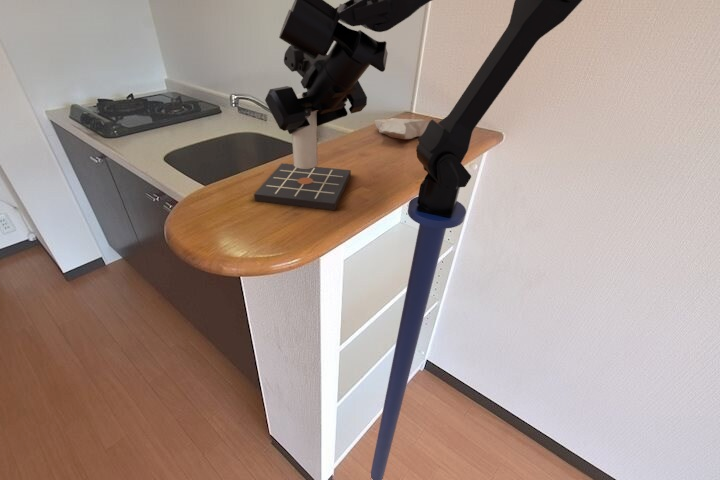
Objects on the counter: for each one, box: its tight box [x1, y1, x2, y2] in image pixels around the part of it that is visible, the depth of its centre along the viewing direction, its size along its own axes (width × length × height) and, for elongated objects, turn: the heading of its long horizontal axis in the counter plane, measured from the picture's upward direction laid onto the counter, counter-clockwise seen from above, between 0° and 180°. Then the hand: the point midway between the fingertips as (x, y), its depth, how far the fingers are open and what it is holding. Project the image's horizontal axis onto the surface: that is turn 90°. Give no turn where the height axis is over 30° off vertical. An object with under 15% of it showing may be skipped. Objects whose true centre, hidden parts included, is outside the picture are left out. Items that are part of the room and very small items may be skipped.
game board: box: [253, 162, 352, 211], centre depth 73 cm, size 16×16×2 cm
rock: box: [374, 117, 430, 140], centre depth 99 cm, size 21×5×15 cm
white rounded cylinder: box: [291, 92, 319, 169], centre depth 66 cm, size 5×5×13 cm
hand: (299, 128), depth 67 cm, fingers closed on white rounded cylinder, 5 cm apart
